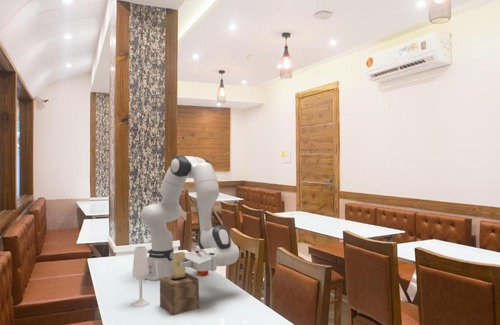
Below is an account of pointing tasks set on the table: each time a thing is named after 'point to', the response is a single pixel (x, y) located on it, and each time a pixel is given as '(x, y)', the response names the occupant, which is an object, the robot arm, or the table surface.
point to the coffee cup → (200, 273)
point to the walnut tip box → (179, 293)
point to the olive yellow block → (177, 270)
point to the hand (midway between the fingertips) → (177, 264)
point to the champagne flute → (140, 271)
